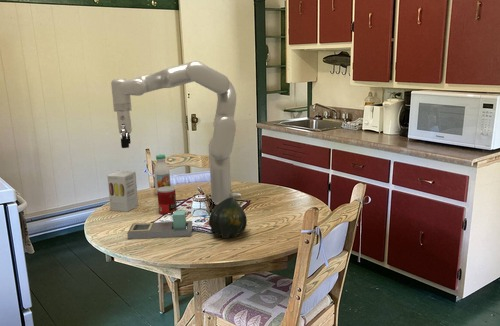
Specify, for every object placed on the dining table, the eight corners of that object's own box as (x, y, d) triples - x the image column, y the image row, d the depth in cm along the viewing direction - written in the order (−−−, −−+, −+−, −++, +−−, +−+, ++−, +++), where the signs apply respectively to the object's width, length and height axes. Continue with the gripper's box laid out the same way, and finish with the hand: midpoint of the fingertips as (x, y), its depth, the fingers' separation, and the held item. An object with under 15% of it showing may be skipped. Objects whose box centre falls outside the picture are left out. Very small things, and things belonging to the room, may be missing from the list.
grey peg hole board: (192, 226, 177) (192, 220, 176) (190, 236, 167) (190, 229, 166) (133, 229, 176) (132, 222, 175) (127, 239, 166) (127, 232, 165)
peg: (186, 229, 174) (185, 210, 172) (185, 233, 170) (184, 214, 168) (175, 230, 174) (173, 211, 172) (173, 234, 169) (172, 215, 168)
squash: (205, 230, 158) (231, 198, 158) (199, 218, 172) (222, 188, 172) (235, 251, 163) (259, 219, 163) (226, 237, 177) (249, 208, 177)
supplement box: (109, 210, 199) (106, 175, 195) (121, 204, 207) (118, 170, 203) (128, 212, 196) (124, 176, 192) (139, 205, 204) (135, 171, 200)
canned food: (173, 215, 190) (171, 191, 188) (156, 214, 192) (154, 190, 189) (179, 209, 198) (177, 186, 195) (162, 208, 199) (161, 185, 197)
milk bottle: (153, 194, 220) (149, 156, 215) (160, 190, 227) (157, 153, 223) (166, 195, 218) (163, 157, 213) (173, 191, 225) (171, 153, 220)
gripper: (130, 109, 183) (133, 148, 187) (132, 105, 199) (135, 141, 203) (111, 110, 181) (115, 150, 185) (115, 106, 198) (119, 142, 202)
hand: (126, 145), depth 194 cm, fingers open, 9 cm apart
